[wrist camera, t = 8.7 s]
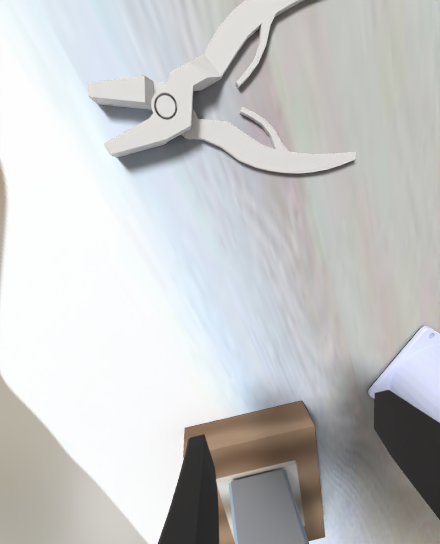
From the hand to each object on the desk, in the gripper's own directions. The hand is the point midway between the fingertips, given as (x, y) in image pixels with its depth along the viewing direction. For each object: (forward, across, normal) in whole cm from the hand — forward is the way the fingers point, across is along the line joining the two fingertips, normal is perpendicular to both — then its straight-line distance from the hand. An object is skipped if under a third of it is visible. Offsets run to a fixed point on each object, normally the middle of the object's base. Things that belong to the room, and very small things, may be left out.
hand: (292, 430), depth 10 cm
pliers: (+10, -1, -15) cm, 18 cm away
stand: (+9, +2, +18) cm, 20 cm away
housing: (+7, +2, +17) cm, 18 cm away
